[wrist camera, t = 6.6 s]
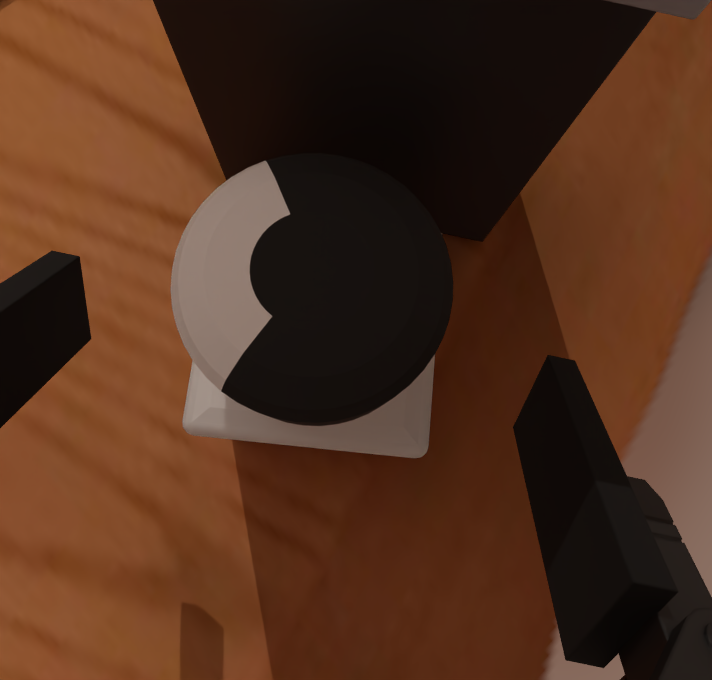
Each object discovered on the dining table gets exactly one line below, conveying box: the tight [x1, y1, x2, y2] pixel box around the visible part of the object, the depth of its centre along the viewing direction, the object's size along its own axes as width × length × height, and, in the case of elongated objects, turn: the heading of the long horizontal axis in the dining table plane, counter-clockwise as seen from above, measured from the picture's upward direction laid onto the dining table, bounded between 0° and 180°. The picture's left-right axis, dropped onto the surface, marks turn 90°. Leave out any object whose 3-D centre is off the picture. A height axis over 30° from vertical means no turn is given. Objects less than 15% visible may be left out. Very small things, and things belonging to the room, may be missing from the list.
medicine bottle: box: [171, 153, 453, 458], centre depth 16 cm, size 7×7×12 cm
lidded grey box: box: [153, 0, 711, 241], centre depth 15 cm, size 8×12×18 cm, turn 78°
